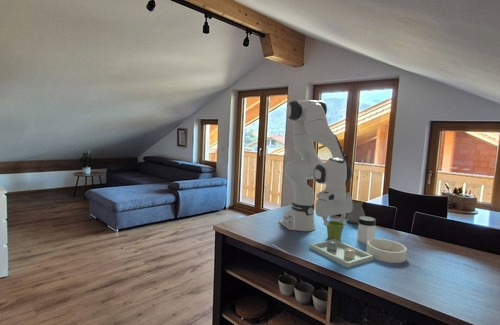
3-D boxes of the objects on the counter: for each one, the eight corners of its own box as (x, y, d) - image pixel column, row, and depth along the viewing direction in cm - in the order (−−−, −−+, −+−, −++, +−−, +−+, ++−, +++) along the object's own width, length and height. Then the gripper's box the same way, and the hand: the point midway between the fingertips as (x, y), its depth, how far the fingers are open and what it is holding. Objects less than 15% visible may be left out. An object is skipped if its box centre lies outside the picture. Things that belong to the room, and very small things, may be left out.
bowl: (358, 252, 133) (359, 242, 133) (380, 246, 142) (381, 236, 141) (391, 267, 120) (392, 255, 119) (413, 259, 128) (414, 248, 127)
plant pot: (321, 239, 149) (322, 222, 148) (330, 235, 156) (331, 219, 155) (337, 244, 142) (338, 227, 141) (346, 240, 149) (348, 223, 148)
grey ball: (324, 248, 135) (325, 241, 135) (331, 247, 137) (332, 239, 137) (331, 252, 131) (332, 244, 131) (338, 250, 133) (339, 243, 133)
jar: (356, 237, 153) (358, 215, 152) (373, 239, 151) (375, 217, 150) (357, 243, 145) (359, 220, 144) (375, 245, 142) (376, 222, 141)
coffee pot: (369, 222, 181) (370, 198, 179) (361, 226, 173) (362, 201, 171) (337, 214, 196) (338, 192, 194) (328, 218, 188) (330, 195, 186)
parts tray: (309, 249, 135) (310, 244, 135) (334, 243, 144) (334, 238, 143) (347, 269, 117) (347, 263, 116) (373, 261, 125) (373, 255, 124)
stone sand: (341, 257, 126) (342, 249, 126) (348, 255, 129) (349, 247, 128) (349, 261, 123) (350, 253, 122) (356, 259, 125) (357, 251, 125)
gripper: (345, 191, 139) (344, 219, 141) (313, 194, 129) (312, 224, 130) (356, 193, 134) (355, 222, 135) (324, 197, 124) (322, 228, 125)
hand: (333, 223), depth 133 cm, fingers open, 8 cm apart
